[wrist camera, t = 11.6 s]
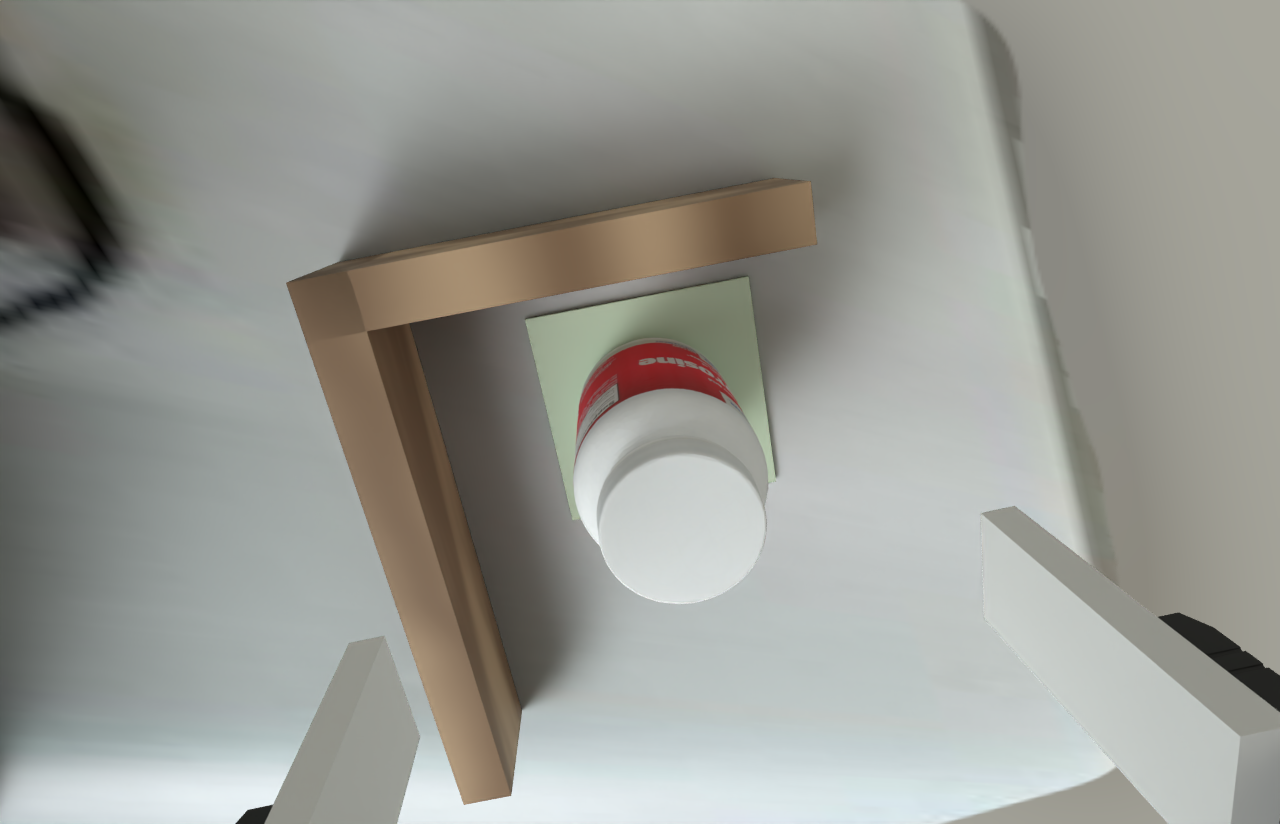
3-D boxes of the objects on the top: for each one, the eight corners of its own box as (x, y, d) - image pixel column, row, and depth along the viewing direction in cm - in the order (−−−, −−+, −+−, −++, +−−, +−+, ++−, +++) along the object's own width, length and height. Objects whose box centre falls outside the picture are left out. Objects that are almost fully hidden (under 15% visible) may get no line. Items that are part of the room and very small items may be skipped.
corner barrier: (480, 718, 35) (463, 804, 31) (337, 262, 28) (286, 282, 24) (829, 651, 35) (866, 727, 31) (774, 178, 28) (810, 181, 24)
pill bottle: (755, 389, 31) (840, 507, 20) (668, 500, 32) (704, 663, 22) (635, 303, 29) (659, 382, 19) (548, 423, 31) (526, 559, 20)
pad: (572, 518, 32) (572, 520, 32) (525, 318, 29) (524, 320, 29) (774, 479, 32) (775, 481, 32) (747, 275, 29) (748, 276, 29)
